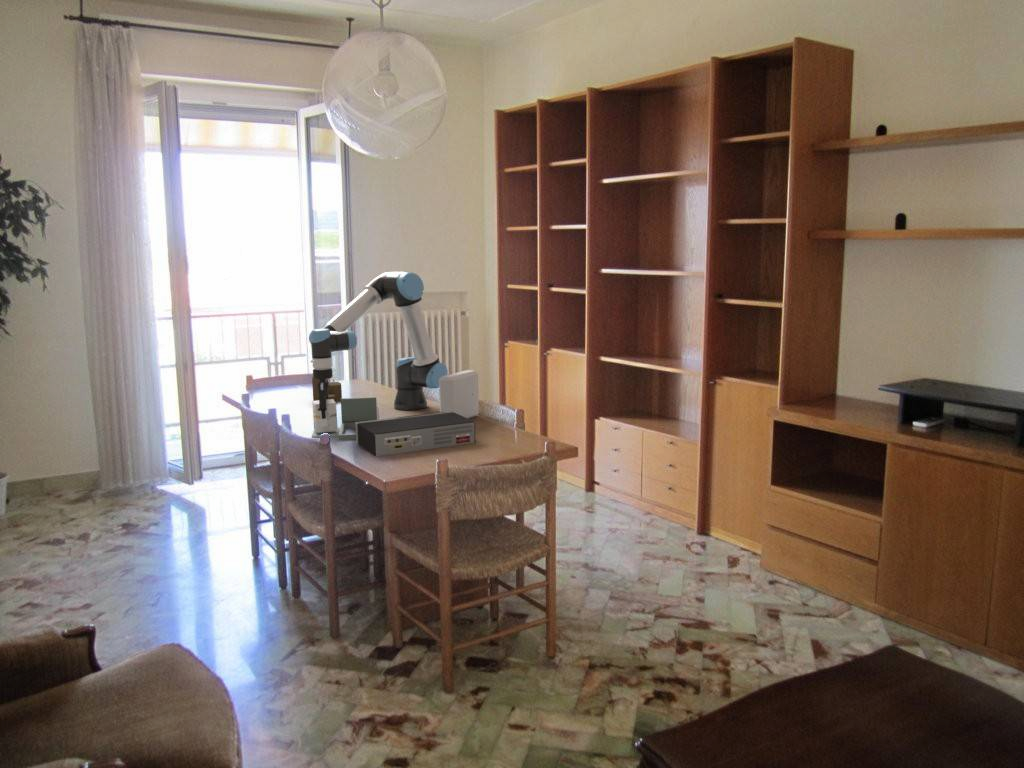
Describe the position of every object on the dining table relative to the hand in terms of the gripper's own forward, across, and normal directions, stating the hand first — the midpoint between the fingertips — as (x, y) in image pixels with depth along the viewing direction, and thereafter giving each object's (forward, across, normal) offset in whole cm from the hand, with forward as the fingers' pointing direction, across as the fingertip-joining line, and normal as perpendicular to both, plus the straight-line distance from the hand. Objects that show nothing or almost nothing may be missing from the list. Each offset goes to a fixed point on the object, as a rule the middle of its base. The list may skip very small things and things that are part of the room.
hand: (325, 423), depth 333 cm
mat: (+4, 0, 0) cm, 4 cm away
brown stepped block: (+4, -69, -6) cm, 69 cm away
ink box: (+3, 0, 0) cm, 3 cm away
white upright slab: (+4, -16, +54) cm, 57 cm away
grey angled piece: (+4, +2, +13) cm, 14 cm away
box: (+5, +21, +35) cm, 41 cm away
